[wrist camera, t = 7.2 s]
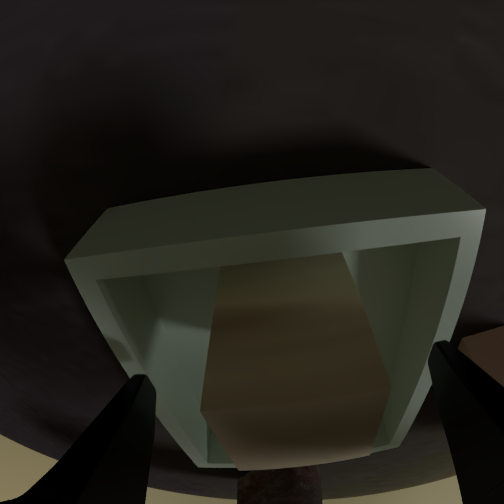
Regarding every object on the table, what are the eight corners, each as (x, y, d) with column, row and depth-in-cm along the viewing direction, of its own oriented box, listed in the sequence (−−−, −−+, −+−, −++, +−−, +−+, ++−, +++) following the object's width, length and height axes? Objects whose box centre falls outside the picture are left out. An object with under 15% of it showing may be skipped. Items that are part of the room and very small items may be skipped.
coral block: (489, 364, 17) (521, 431, 12) (443, 378, 17) (472, 454, 12) (509, 323, 15) (552, 395, 10) (461, 337, 15) (503, 421, 10)
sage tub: (387, 401, 18) (399, 446, 15) (203, 420, 19) (198, 467, 16) (432, 168, 10) (486, 209, 7) (107, 208, 11) (63, 260, 8)
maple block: (338, 323, 13) (369, 455, 8) (243, 336, 13) (238, 470, 8) (337, 240, 11) (391, 387, 6) (221, 256, 11) (199, 411, 6)
